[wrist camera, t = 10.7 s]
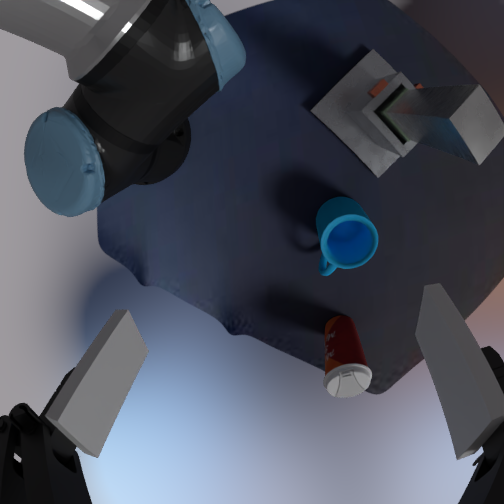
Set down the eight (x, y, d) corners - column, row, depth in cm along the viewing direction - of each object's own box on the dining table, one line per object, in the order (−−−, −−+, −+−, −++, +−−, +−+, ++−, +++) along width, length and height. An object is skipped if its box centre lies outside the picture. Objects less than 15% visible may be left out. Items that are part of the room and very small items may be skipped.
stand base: (309, 110, 38) (317, 110, 28) (370, 50, 32) (396, 33, 22) (375, 175, 41) (401, 197, 31) (431, 118, 35) (471, 124, 25)
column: (369, 111, 30) (446, 118, 14) (391, 90, 29) (479, 81, 12) (392, 136, 31) (479, 168, 15) (413, 115, 30) (509, 131, 13)
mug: (329, 187, 43) (337, 204, 36) (373, 209, 44) (388, 229, 37) (297, 251, 49) (298, 277, 42) (339, 269, 49) (346, 296, 42)
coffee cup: (315, 316, 55) (319, 376, 41) (356, 306, 52) (371, 365, 39) (323, 345, 58) (327, 403, 45) (361, 336, 56) (374, 394, 43)
